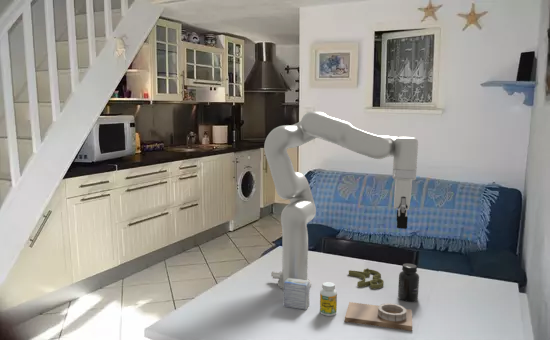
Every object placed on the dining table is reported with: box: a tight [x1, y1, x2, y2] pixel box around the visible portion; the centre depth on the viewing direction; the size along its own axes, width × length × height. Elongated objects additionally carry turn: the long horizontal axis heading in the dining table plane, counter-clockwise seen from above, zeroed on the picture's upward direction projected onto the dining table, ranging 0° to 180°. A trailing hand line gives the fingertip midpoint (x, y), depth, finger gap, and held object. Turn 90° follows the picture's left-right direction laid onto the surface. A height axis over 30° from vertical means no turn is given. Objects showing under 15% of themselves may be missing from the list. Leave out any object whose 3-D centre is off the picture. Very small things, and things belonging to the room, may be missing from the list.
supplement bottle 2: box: [397, 263, 420, 303], centre depth 158 cm, size 7×7×12 cm
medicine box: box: [283, 278, 311, 310], centre depth 150 cm, size 8×4×9 cm, turn 71°
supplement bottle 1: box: [319, 281, 338, 317], centre depth 145 cm, size 5×5×10 cm
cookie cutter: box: [348, 267, 385, 290], centre depth 176 cm, size 18×12×2 cm, turn 7°
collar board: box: [344, 301, 413, 332], centre depth 142 cm, size 20×12×4 cm, turn 74°
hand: (401, 224), depth 151 cm, fingers open, 9 cm apart
